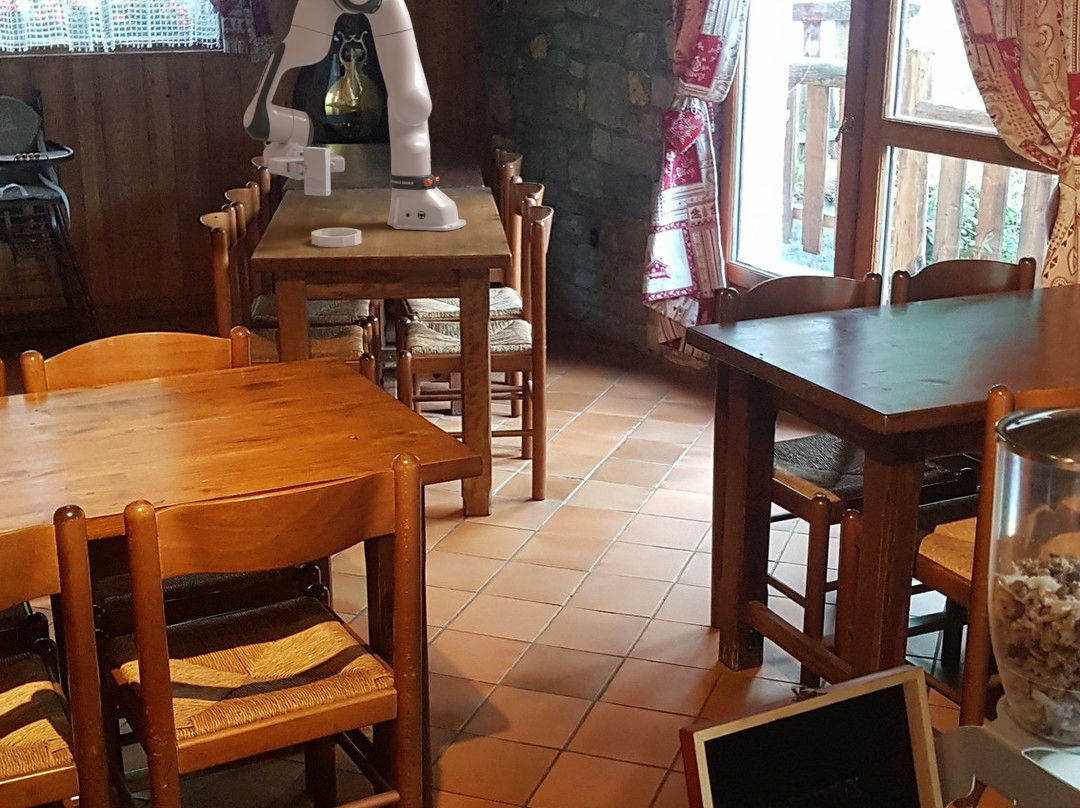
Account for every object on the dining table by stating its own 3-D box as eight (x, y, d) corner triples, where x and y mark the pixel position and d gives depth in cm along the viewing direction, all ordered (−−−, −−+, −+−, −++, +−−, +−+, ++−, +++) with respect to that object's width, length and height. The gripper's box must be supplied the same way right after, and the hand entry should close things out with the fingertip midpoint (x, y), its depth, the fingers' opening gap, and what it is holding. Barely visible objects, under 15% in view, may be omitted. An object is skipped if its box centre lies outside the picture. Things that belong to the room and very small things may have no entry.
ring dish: (370, 239, 331) (370, 230, 330) (345, 248, 319) (345, 238, 318) (328, 235, 335) (328, 226, 334) (302, 244, 324) (301, 234, 323)
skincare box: (331, 194, 322) (331, 147, 319) (325, 196, 318) (326, 149, 315) (308, 193, 323) (308, 146, 320) (302, 195, 319) (303, 147, 316)
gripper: (259, 151, 323) (279, 157, 312) (331, 149, 334) (353, 154, 323) (260, 176, 325) (280, 182, 314) (332, 172, 336) (353, 178, 325)
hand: (318, 168), depth 318 cm, fingers closed on skincare box, 7 cm apart
